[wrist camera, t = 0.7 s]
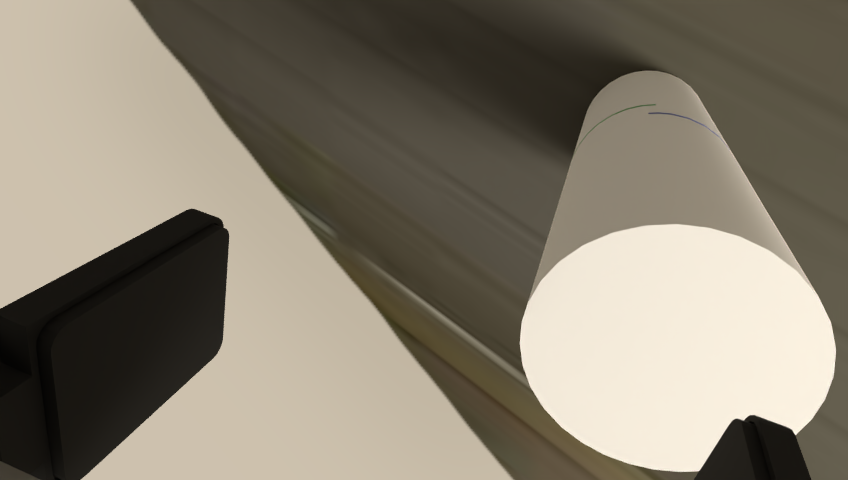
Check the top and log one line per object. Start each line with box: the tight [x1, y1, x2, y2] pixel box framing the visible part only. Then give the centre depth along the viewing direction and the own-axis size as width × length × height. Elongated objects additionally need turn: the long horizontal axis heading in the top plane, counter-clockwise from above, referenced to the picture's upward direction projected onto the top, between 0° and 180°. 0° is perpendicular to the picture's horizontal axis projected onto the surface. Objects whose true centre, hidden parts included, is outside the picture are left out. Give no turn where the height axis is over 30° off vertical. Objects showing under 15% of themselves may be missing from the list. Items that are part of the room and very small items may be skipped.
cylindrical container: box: [520, 71, 836, 472], centre depth 25 cm, size 7×7×25 cm
